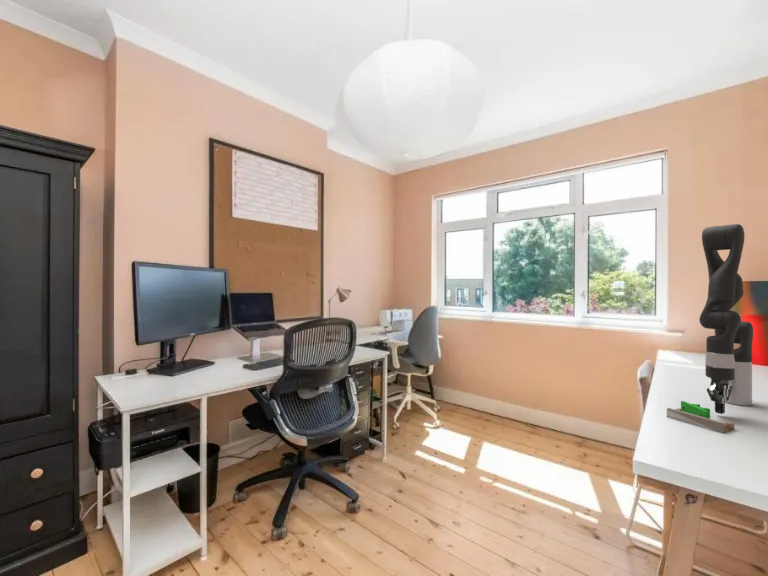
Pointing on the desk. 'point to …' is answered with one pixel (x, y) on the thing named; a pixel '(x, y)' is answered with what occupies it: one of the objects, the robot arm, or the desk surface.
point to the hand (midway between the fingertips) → (719, 412)
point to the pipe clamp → (695, 409)
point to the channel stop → (699, 420)
